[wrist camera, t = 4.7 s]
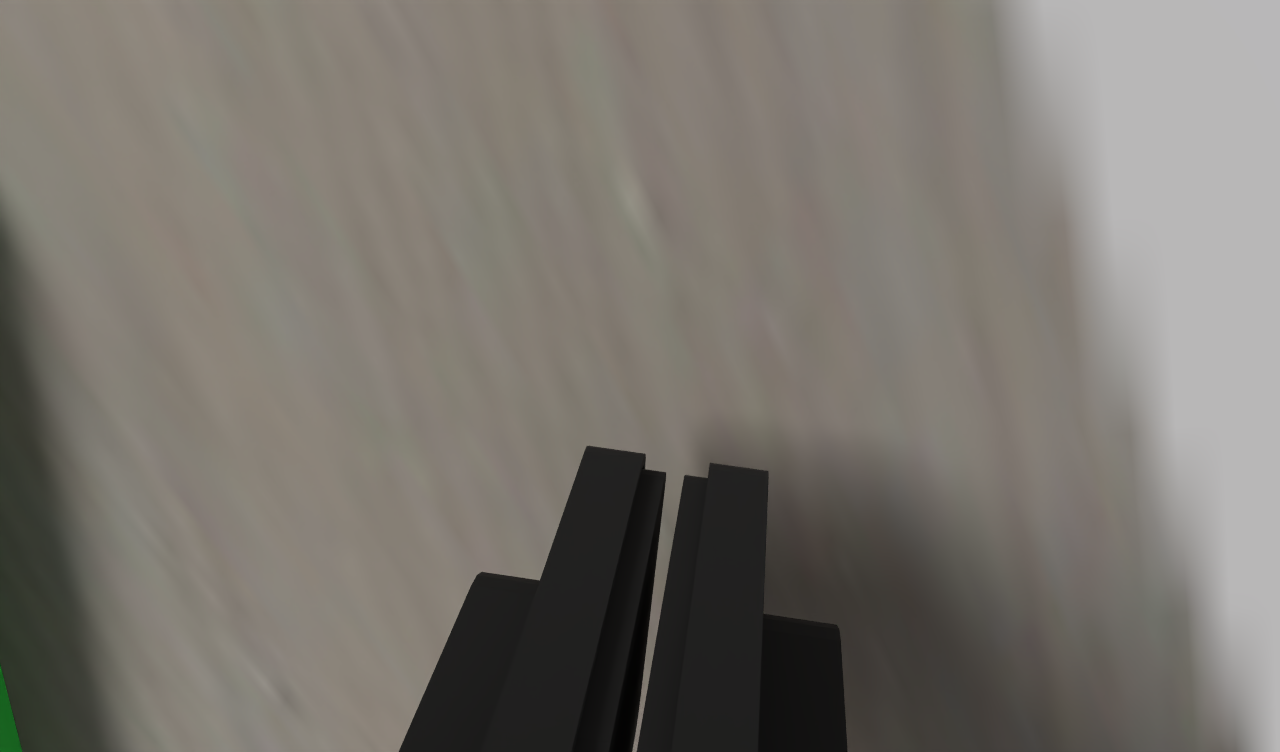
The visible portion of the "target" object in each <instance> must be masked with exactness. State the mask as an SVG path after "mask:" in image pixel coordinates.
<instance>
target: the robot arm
mask: <svg viewBox="0 0 1280 752" xmlns="http://www.w3.org/2000/svg"><path fill="white" fill-rule="evenodd" d="M645 460H646V456H645V454H643V453H636V452H628V451H621V450H614V449H607V448H600V447H593V446H587V447H586V449H585V452H584V455H583V457H582V460H581V463H580V466H579V469H578V472H577V475H576V478H575V481H574V484H573V486H572V489H571V492H570V495H569V498H568V501H567V504H566V507H565V510H564V512H563V515H562V518H561V521H560V524H559V527H558V530H557V533H556V536H555V539H554V541H553V544H552V547H551V550H550V553H549V556H548V559H547V562H546V565H545V567H544V570H543V573H542V576H541V579H540V581H539V580H532V579H525V578H519V577H512V576H505V575H499V574H492V573H485V572H481V573H480V574H478V575H477V576H476V578H475V580H474V582H473V583H472V585H471V587H470V590H469V592H468V594H467V597H466V599H465V601H464V603H463V606H462V608H461V610H460V613H459V615H458V617H457V619H456V622H455V624H454V626H453V629H452V631H451V633H450V636H449V638H448V640H447V642H446V645H445V647H444V649H443V652H442V654H441V656H440V658H439V661H438V663H437V665H436V668H435V670H434V672H433V674H432V677H431V679H430V681H429V684H428V686H427V688H426V691H425V693H424V695H423V697H422V700H421V702H420V704H419V707H418V709H417V711H416V713H415V716H414V718H413V720H412V723H411V725H410V727H409V729H408V732H407V734H406V736H405V739H404V741H403V743H402V746H401V748H400V750H399V752H632V750H633V744H634V738H635V732H636V726H637V719H638V712H639V705H640V697H641V688H642V680H643V671H644V663H645V654H646V645H647V637H648V628H649V620H650V611H651V602H652V594H653V585H654V577H655V568H656V559H657V551H658V542H659V534H660V525H661V517H662V508H663V499H664V491H665V482H666V472H659V471H652V470H645ZM767 502H768V471H764V470H757V469H750V468H743V467H735V466H728V465H721V464H714V463H710V467H709V474H708V478H702V477H695V476H688V475H685V476H684V481H683V487H682V493H681V499H680V505H679V510H678V516H677V522H676V528H675V534H674V539H673V545H672V551H671V557H670V562H669V568H668V574H667V580H666V586H665V591H664V597H663V603H662V609H661V615H660V620H659V626H658V632H657V638H656V644H655V649H654V655H653V661H652V667H651V673H650V678H649V684H648V690H647V696H646V701H645V707H644V713H643V719H642V725H641V730H640V736H639V742H638V748H637V752H847V737H846V720H845V704H844V687H843V671H842V654H841V639H840V632H839V628H838V626H837V625H834V624H827V623H820V622H814V621H807V620H800V619H794V618H787V617H780V616H773V615H767V614H763V605H764V579H765V553H766V527H767Z"/></svg>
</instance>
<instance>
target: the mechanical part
mask: <svg viewBox="0 0 1280 752" xmlns="http://www.w3.org/2000/svg"><path fill="white" fill-rule="evenodd" d="M0 752H22V749H21V745H20V741H19V737H18V733H17V729H16V725H15V721H14V717H13V713H12V709H11V705H10V701H9V697H8V693H7V689H6V685H5V681H4V677H3V673H2V669H1V665H0Z"/></svg>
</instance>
